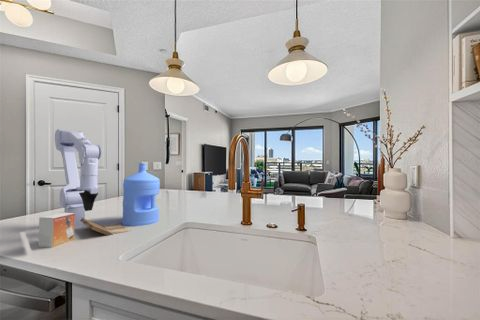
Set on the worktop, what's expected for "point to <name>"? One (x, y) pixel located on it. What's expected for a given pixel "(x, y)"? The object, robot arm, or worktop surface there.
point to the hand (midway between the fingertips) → (88, 210)
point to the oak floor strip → (116, 228)
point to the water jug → (140, 198)
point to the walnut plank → (96, 227)
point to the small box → (56, 229)
